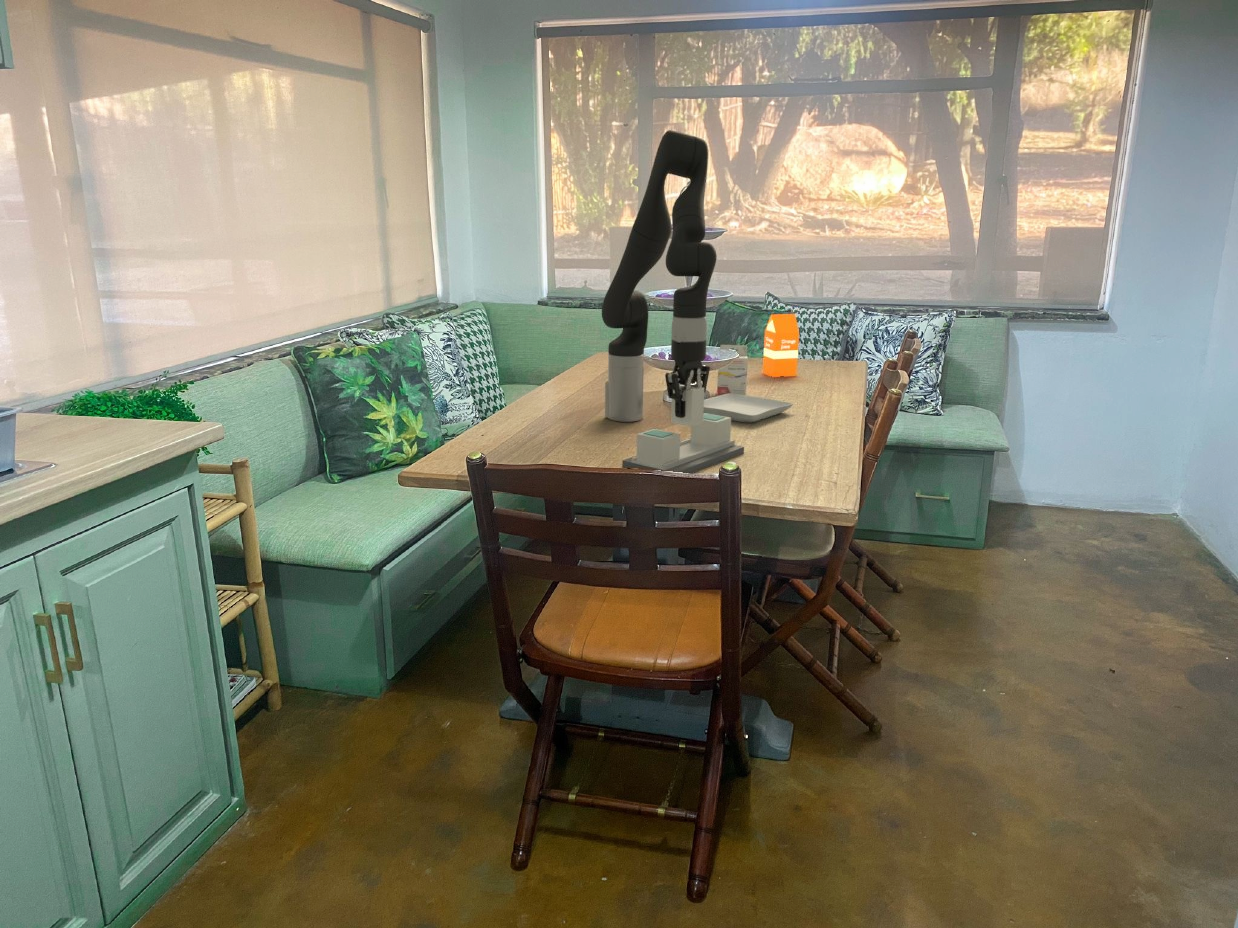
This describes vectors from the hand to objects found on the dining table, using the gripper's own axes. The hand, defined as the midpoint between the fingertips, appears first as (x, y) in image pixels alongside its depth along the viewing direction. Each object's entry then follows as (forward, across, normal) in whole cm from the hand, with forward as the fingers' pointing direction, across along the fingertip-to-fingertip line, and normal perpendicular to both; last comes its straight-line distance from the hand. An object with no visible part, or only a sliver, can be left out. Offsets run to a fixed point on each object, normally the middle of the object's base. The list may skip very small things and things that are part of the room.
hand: (686, 414), depth 198 cm
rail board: (+10, 0, 0) cm, 10 cm away
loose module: (+2, 0, 0) cm, 2 cm away
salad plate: (+11, -47, -15) cm, 50 cm away
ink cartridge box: (+11, -66, -30) cm, 73 cm away
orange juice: (+10, -105, -36) cm, 111 cm away
